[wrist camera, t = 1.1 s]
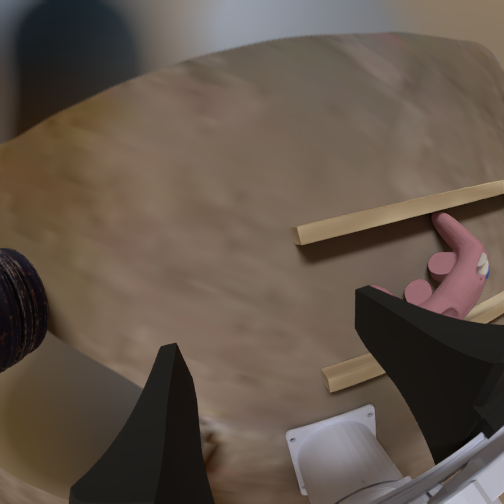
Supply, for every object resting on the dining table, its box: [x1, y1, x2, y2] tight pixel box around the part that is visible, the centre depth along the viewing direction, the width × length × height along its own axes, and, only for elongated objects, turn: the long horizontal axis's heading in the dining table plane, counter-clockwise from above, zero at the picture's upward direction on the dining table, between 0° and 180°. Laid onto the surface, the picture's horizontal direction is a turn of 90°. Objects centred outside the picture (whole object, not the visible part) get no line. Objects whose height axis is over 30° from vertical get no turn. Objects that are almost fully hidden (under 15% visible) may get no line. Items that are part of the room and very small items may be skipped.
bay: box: [291, 180, 504, 393], centre depth 21 cm, size 12×25×4 cm, turn 104°
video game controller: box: [371, 211, 489, 320], centre depth 20 cm, size 10×5×7 cm, turn 134°
